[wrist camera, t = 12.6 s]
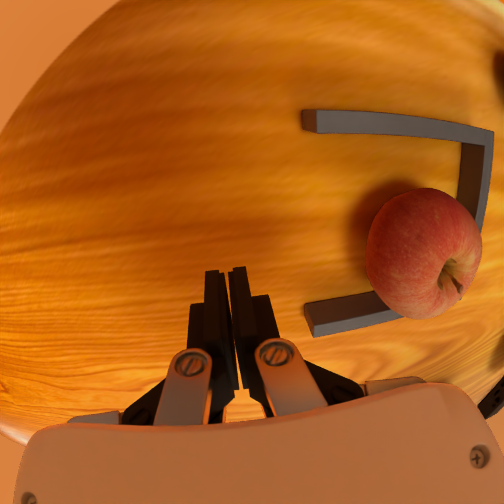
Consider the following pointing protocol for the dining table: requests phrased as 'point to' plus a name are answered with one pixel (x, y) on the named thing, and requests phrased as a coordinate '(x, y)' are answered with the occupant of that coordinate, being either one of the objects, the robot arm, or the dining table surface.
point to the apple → (422, 252)
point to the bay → (469, 195)
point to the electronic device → (493, 401)
